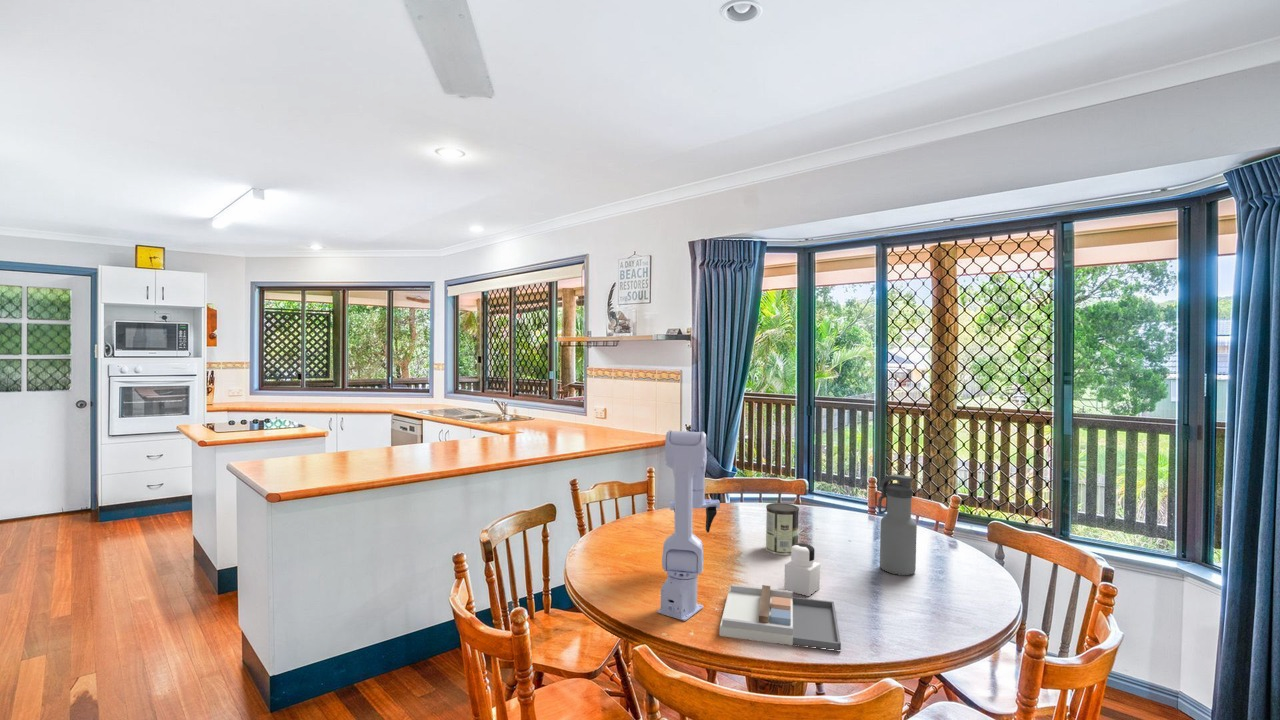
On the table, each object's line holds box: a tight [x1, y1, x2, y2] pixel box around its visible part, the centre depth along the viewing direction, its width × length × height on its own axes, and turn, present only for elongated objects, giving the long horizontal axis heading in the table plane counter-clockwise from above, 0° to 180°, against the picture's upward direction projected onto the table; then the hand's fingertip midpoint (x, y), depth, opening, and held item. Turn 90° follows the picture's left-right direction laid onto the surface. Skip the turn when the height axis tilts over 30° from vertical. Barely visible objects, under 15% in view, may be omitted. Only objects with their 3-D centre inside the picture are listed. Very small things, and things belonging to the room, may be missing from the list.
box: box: [793, 596, 842, 650], centre depth 140 cm, size 10×22×2 cm, turn 166°
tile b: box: [770, 608, 791, 626], centre depth 139 cm, size 4×4×2 cm
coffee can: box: [765, 502, 800, 556], centre depth 193 cm, size 10×10×14 cm
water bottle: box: [877, 473, 918, 576], centre depth 177 cm, size 10×10×28 cm
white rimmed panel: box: [719, 583, 794, 646], centre depth 144 cm, size 16×22×4 cm
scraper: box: [759, 584, 771, 623], centre depth 143 cm, size 2×18×2 cm, turn 166°
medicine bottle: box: [783, 542, 821, 597], centre depth 162 cm, size 7×7×12 cm
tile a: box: [771, 596, 791, 611], centre depth 146 cm, size 4×4×2 cm
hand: (694, 531), depth 176 cm, fingers open, 7 cm apart
